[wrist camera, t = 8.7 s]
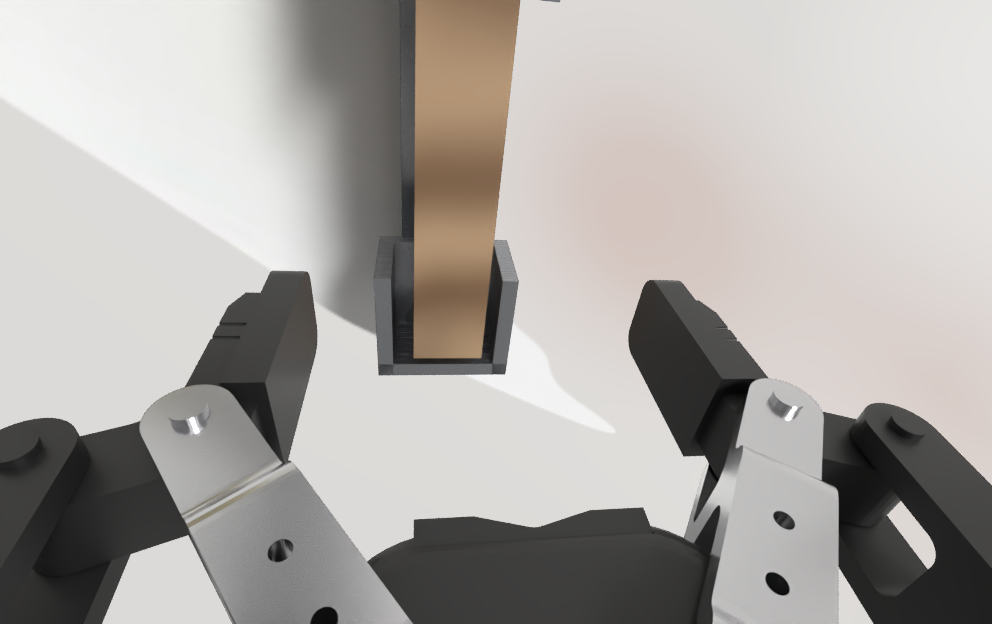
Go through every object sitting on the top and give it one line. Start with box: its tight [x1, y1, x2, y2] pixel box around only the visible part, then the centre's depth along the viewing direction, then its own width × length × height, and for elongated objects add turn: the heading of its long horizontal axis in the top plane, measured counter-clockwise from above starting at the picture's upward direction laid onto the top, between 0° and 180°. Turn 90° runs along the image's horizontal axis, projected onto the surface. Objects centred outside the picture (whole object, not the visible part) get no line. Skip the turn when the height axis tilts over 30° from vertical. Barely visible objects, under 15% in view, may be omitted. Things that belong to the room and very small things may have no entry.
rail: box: [414, 0, 520, 358], centre depth 22 cm, size 20×4×5 cm, turn 174°
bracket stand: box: [374, 0, 560, 375], centre depth 25 cm, size 25×7×9 cm, turn 174°
